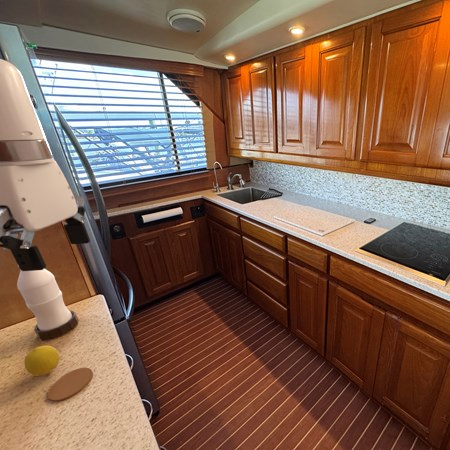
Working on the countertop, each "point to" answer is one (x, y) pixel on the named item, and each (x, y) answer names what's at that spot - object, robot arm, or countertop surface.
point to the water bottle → (43, 298)
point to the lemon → (41, 360)
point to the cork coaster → (70, 384)
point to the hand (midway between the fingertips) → (60, 255)
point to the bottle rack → (58, 329)
